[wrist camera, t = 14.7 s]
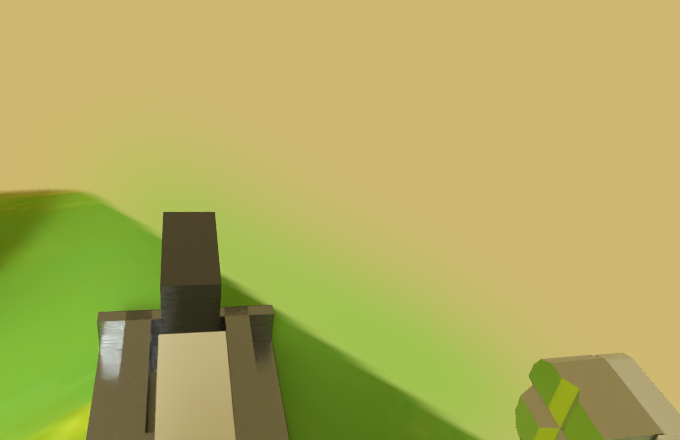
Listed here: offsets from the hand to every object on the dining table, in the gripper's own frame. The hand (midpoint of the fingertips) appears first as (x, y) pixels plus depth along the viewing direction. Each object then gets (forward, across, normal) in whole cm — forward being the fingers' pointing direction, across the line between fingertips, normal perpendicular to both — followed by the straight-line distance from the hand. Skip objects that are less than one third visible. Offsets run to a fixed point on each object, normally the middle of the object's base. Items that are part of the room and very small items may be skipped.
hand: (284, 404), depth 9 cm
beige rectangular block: (+12, +1, +25) cm, 27 cm away
